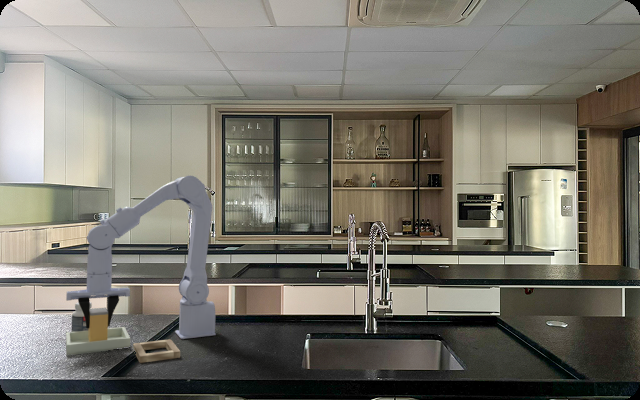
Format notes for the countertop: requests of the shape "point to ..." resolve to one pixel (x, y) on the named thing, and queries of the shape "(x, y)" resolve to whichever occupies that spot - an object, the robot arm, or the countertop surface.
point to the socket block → (143, 357)
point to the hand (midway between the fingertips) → (97, 326)
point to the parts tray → (81, 344)
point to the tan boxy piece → (98, 324)
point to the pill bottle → (78, 319)
